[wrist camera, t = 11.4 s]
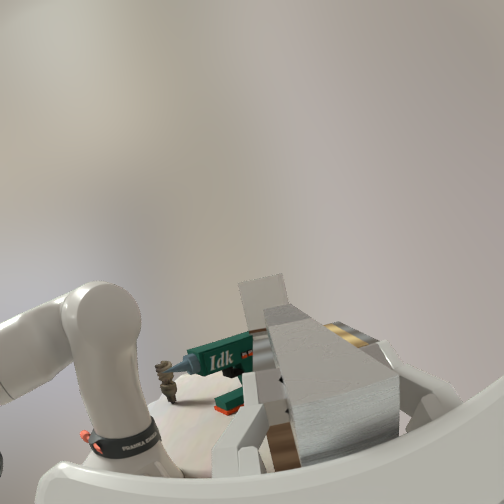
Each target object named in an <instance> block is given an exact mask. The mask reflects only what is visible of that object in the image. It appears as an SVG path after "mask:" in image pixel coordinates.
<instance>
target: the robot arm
mask: <svg viewBox="0 0 504 504" xmlns="http://www.w3.org/2000/svg"><path fill="white" fill-rule="evenodd" d="M140 329H141V315H140V310H139V307H138V305H137V303H136V301H135V299H134V298H133V297H132V296H131V294H129V292H127V291H126V290H125V289H123V288H122V287H119V286H117V285H115V284H112V283H108V282H104V281H93V282H89V283H86V284H84V285H82V286H80V287H79V288H77V289H75V290H73V291H71V292H69V293H66V294H64V295H62V296H60V297H57V298H55V299H53V300H51V301H48V302H46V303H44V304H42V305H39V306H37V307H35V308H33V309H31V310H28V311H26V312H24V313H21V314H19V315H17V316H15V317H13V318H11V319H9V320H7V321H4V322H2V323H0V406H2V405H5V404H7V403H9V402H11V401H13V400H15V399H17V398H19V397H21V396H23V395H25V394H26V393H28V392H30V391H32V390H34V389H36V388H37V387H39V386H41V385H43V384H45V383H47V382H49V381H51V380H52V379H53V378H54V377H55V376H56V375H57V374H58V373H59V372H60V371H62V370H63V369H64V368H65V367H67V366H68V365H69V364H71V363H72V362H73V361H74V366H75V370H76V375H77V379H78V385H79V391H80V394H81V397H82V400H83V403H84V405H85V408H86V411H87V413H88V416H89V418H90V421H91V423H92V426H93V431H92V433H91V434H89V432H88V431H86V430H83V431H81V434H80V435H81V438H82V439H83V440H84V441H85V442H87V443H89V444H90V447H91V449H92V451H91V452H90V454H89V456H88V457H87V458H86V460H85V462H84V463H83V464H82V465H79V464H75V463H71V462H67V461H61V462H59V463H58V464H56V465H55V466H53V467H52V468H51V469H50V470H49V471H47V472H46V473H45V474H44V475H43V476H42V477H41V479H40V481H39V484H38V487H37V492H36V497H35V503H34V504H504V375H503V376H502V377H501V378H499V379H498V380H497V381H495V382H494V383H493V384H491V385H490V386H488V387H487V388H486V389H484V390H483V391H481V392H480V393H478V394H477V395H475V396H474V397H472V398H471V399H469V400H468V401H466V402H464V403H463V401H462V400H461V398H460V397H459V395H458V394H457V392H456V391H455V389H454V388H453V386H452V385H451V384H450V383H449V382H447V381H445V380H443V379H440V378H438V377H436V376H433V375H431V374H429V373H427V372H424V371H422V370H420V369H418V368H416V367H414V366H411V365H409V364H405V365H404V363H403V362H402V361H401V359H400V358H399V356H398V354H397V353H396V351H395V350H394V348H393V347H392V345H391V344H390V342H389V341H388V340H383V341H380V342H376V343H373V344H370V345H367V346H363V347H360V348H359V349H360V350H362V351H363V352H365V353H366V354H368V355H369V356H371V357H373V358H374V359H376V360H377V361H379V362H380V363H382V364H383V365H385V366H387V367H388V368H390V369H391V370H393V371H395V372H396V373H398V374H399V390H400V410H402V411H403V412H405V413H406V414H408V415H409V416H411V417H412V418H411V420H410V421H409V423H408V425H407V427H406V432H407V433H406V434H404V435H402V436H399V437H397V438H395V439H392V440H390V441H387V442H385V443H382V444H380V445H377V446H374V447H371V448H369V449H366V450H363V451H360V452H357V453H354V454H351V455H348V456H344V457H341V458H337V459H334V460H330V461H326V462H323V463H319V464H314V465H310V466H306V467H301V468H296V469H291V470H285V471H280V472H273V473H267V472H266V468H265V466H264V463H263V461H262V459H261V456H260V454H259V451H258V450H259V448H260V446H261V444H262V442H263V440H264V438H265V436H266V434H267V432H268V430H269V426H273V425H278V424H282V423H287V422H290V418H289V412H288V403H287V397H286V392H285V388H284V384H283V381H282V375H281V370H280V368H275V369H268V370H262V371H255V372H249V373H243V374H242V382H243V394H244V406H242V407H240V409H239V410H238V412H237V413H236V415H235V416H234V418H233V419H232V421H231V422H230V424H229V425H228V427H227V428H226V430H225V431H224V432H223V434H222V435H221V437H220V438H219V440H218V441H217V442H216V444H215V445H214V447H213V448H212V478H199V479H191V478H184V477H183V473H182V472H181V470H180V469H179V468H178V467H177V466H176V465H175V464H174V462H173V461H172V460H171V458H170V457H169V455H168V454H167V452H166V450H165V449H164V447H163V445H162V443H161V441H162V440H161V436H160V434H159V430H158V428H157V426H156V423H155V421H154V419H153V417H152V416H150V414H149V411H148V407H147V405H146V401H145V398H144V395H143V392H142V389H141V385H140V380H139V375H138V363H137V338H138V336H139V333H140ZM2 471H3V457H2V454H1V453H0V477H1V474H2Z"/></svg>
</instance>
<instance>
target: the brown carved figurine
mask: <svg viewBox="0 0 504 504" xmlns="http://www.w3.org/2000/svg"><path fill="white" fill-rule="evenodd" d="M171 367H172V364H171V362H169V361H161V364H158V365H155V368H156V372H157V373H158V374H157V375H158V376H159V380H161V381H162V384H161V385H160V388H161V391H162V393H163V394H164V395H165V396H166V397H167V399H168V402H171V403H175V401H176V396H175V394H176V392H177V387H176V383H175V382H173V381H172V379H173V377H174V375H173V372H171V373H162V372H164V371H166V370H168V369H170V368H171Z"/></svg>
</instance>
